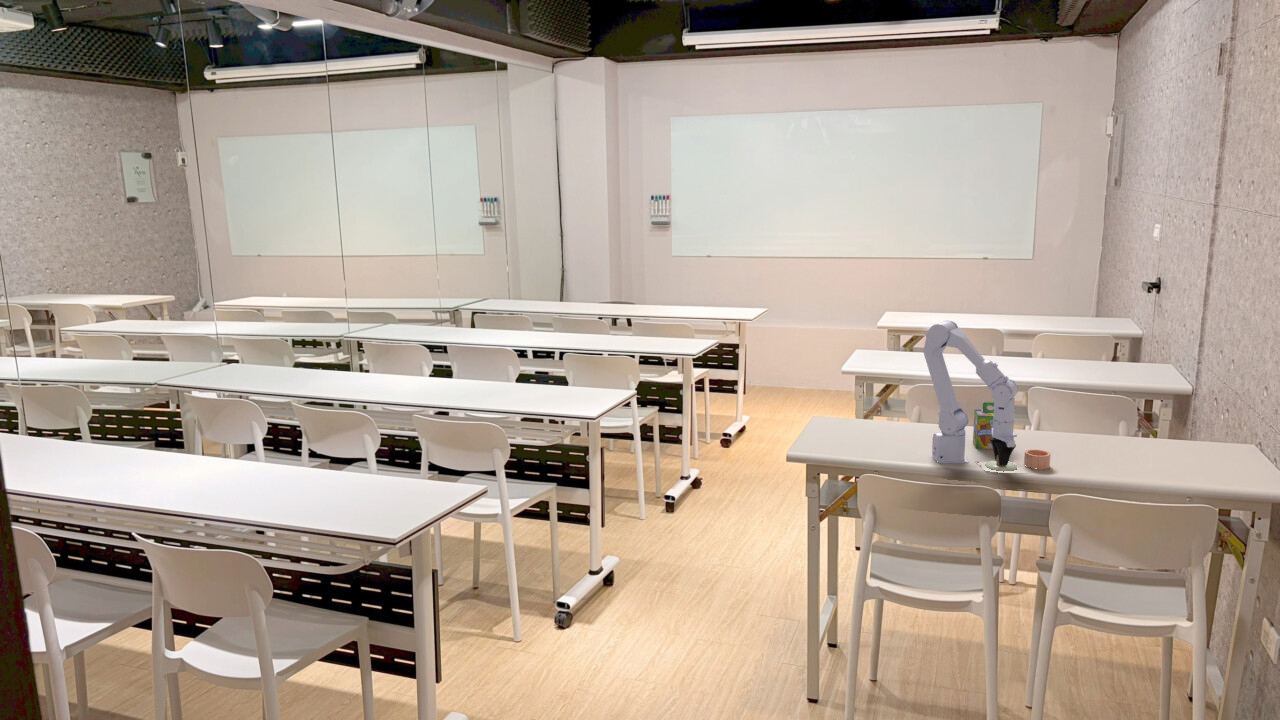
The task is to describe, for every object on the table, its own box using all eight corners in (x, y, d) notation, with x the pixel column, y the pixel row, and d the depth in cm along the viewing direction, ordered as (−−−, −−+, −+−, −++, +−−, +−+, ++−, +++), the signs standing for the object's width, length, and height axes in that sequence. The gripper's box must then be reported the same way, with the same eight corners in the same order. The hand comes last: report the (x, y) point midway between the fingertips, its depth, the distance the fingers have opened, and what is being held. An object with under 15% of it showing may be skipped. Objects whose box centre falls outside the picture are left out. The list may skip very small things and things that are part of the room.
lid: (991, 472, 257) (992, 460, 256) (981, 463, 266) (981, 451, 265) (1022, 471, 257) (1022, 460, 256) (1010, 462, 265) (1011, 451, 265)
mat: (987, 475, 256) (987, 473, 256) (974, 462, 268) (974, 461, 267) (1028, 474, 255) (1029, 473, 255) (1013, 462, 267) (1014, 460, 267)
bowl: (1029, 470, 258) (1030, 456, 257) (1020, 463, 265) (1021, 449, 264) (1053, 470, 258) (1054, 456, 257) (1043, 463, 265) (1044, 449, 264)
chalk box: (975, 450, 280) (977, 406, 277) (972, 442, 289) (973, 399, 286) (1006, 451, 278) (1008, 407, 275) (1001, 443, 287) (1003, 400, 284)
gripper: (1026, 426, 251) (1023, 470, 254) (1008, 413, 265) (1006, 455, 268) (1001, 426, 251) (999, 470, 254) (985, 414, 266) (983, 456, 268)
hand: (1001, 463), depth 261 cm, fingers closed on lid, 3 cm apart
